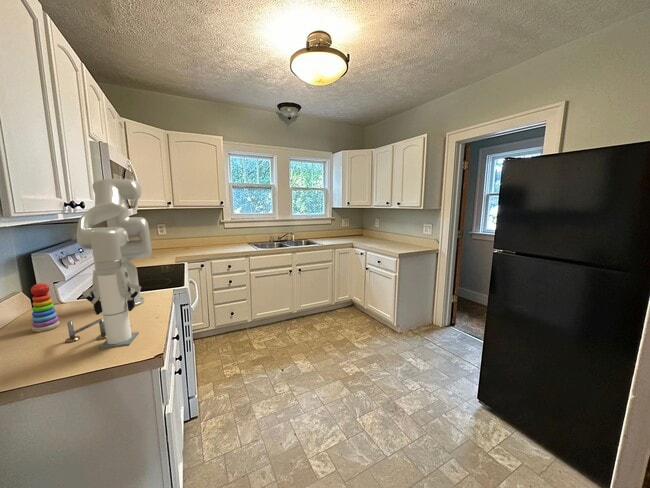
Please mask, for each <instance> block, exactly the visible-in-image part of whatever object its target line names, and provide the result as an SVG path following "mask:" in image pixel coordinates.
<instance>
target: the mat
mask: <svg viewBox="0 0 650 488" xmlns="http://www.w3.org/2000/svg"><path fill="white" fill-rule="evenodd" d="M139 333H140V332H139V331H135V332H131V335H132V337H131V338H130V339H129V340H127V341H125V342H122V343H118V344H108V343H107V339H106V340H104V342H103V343H102V344H101V345H100V346H99V347H98V350H104V349H109V348H110V349H111V348H117V347H126V346H130V345H131V344H132V342H133V341H134V340H135V339H136V338H137V336H138V335H139Z"/></svg>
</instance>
